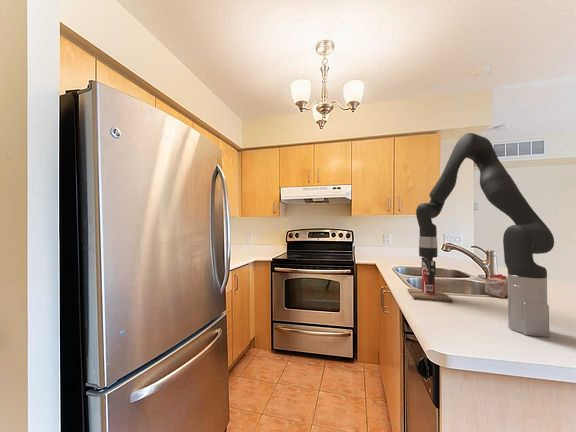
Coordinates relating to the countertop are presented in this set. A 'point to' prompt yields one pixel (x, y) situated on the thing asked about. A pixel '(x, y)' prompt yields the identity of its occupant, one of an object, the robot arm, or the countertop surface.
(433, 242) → the robot arm
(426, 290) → the soda can
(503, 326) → the countertop surface
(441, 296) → the walnut board
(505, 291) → the food item
